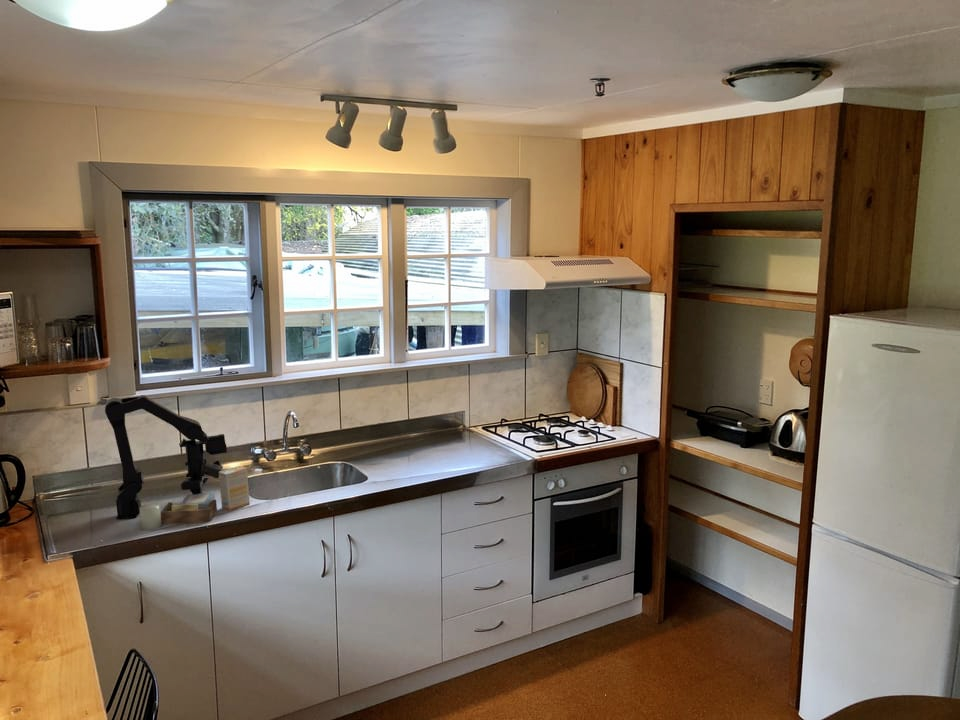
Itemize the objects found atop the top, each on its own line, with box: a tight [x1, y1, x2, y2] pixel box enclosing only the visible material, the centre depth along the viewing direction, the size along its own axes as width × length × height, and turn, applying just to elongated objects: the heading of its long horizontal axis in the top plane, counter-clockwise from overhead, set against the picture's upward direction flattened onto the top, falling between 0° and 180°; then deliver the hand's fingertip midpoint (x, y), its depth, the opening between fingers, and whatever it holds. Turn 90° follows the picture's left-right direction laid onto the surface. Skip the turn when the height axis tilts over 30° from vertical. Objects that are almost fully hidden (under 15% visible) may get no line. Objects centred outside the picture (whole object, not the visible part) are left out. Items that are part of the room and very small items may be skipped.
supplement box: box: [218, 465, 251, 511], centre depth 259 cm, size 8×5×13 cm, turn 141°
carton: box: [179, 492, 216, 509], centre depth 255 cm, size 9×11×5 cm
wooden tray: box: [161, 499, 218, 525], centre depth 249 cm, size 15×10×6 cm, turn 97°
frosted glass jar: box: [139, 502, 163, 531], centre depth 242 cm, size 6×6×7 cm
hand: (199, 500), depth 262 cm, fingers closed
